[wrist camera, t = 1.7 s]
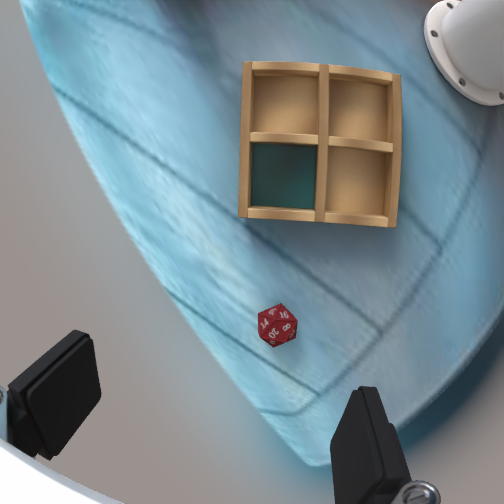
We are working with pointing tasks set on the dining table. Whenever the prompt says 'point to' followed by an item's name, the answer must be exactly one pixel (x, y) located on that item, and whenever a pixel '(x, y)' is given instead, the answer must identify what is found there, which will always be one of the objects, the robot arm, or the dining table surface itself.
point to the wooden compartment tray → (320, 143)
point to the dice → (277, 325)
